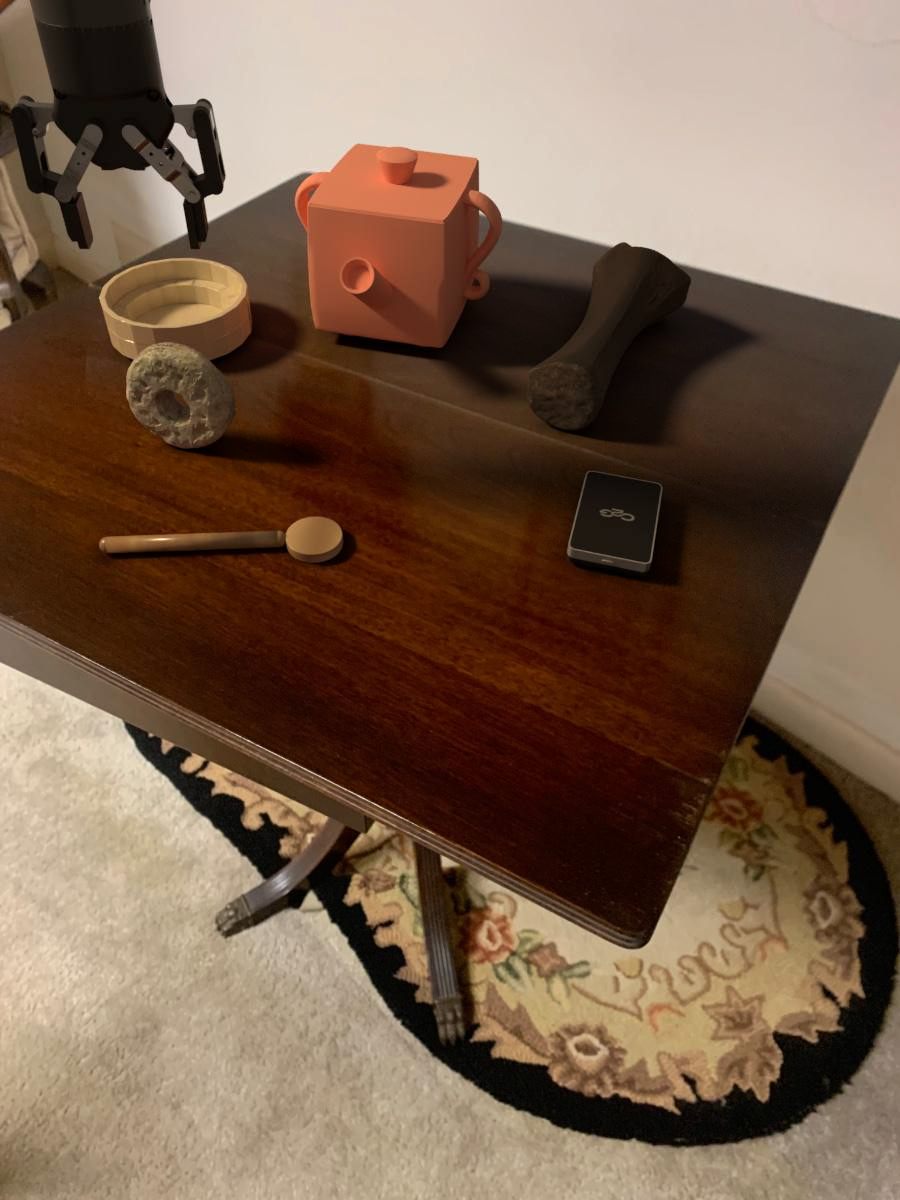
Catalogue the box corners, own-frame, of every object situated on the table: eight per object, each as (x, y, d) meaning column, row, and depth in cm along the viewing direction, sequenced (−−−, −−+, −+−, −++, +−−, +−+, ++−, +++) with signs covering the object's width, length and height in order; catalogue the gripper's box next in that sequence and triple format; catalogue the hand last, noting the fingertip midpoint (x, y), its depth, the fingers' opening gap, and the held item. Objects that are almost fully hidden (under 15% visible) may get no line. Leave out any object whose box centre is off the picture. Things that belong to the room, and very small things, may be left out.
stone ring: (132, 440, 84) (106, 347, 77) (152, 420, 87) (128, 327, 79) (229, 463, 83) (212, 369, 75) (246, 441, 85) (231, 348, 78)
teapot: (464, 406, 90) (474, 234, 77) (255, 373, 93) (230, 201, 80) (507, 291, 107) (521, 134, 94) (329, 266, 110) (318, 110, 97)
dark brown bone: (621, 317, 108) (537, 465, 92) (591, 237, 102) (495, 382, 86) (708, 298, 101) (633, 454, 86) (681, 211, 95) (594, 363, 80)
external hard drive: (658, 500, 81) (663, 483, 79) (645, 583, 73) (650, 566, 72) (583, 486, 82) (586, 469, 80) (563, 566, 75) (566, 549, 73)
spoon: (96, 571, 72) (91, 559, 71) (106, 532, 76) (102, 519, 75) (343, 562, 74) (342, 549, 73) (343, 523, 77) (342, 511, 76)
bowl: (100, 372, 92) (87, 328, 89) (123, 300, 103) (113, 258, 99) (247, 369, 94) (241, 326, 90) (256, 298, 104) (250, 257, 100)
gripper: (-36, 19, 56) (39, 267, 67) (195, 24, 57) (229, 266, 69) (-6, -10, 61) (59, 225, 72) (206, -5, 62) (236, 225, 74)
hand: (142, 245), depth 71 cm, fingers open, 8 cm apart
